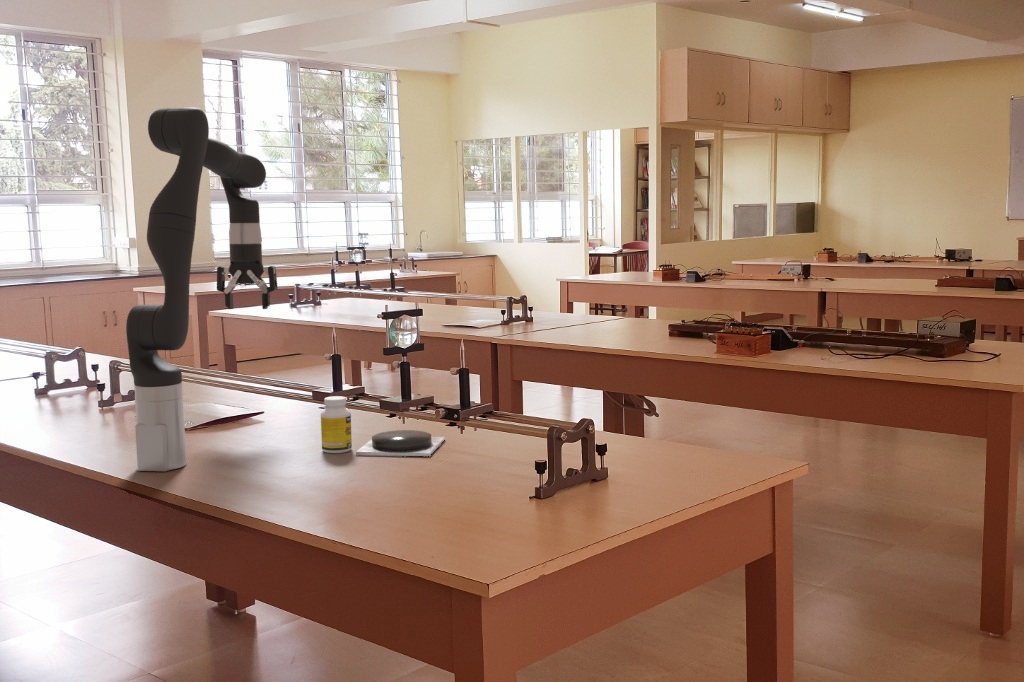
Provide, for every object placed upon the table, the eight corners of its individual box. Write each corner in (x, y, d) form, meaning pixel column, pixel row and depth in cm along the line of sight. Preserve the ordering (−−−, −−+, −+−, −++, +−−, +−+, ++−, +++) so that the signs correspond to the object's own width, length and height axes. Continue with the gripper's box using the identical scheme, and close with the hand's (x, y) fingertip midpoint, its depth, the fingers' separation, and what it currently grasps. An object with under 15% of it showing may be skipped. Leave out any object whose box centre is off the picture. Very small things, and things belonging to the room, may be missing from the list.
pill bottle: (345, 454, 213) (343, 401, 212) (317, 453, 214) (315, 400, 213) (356, 447, 219) (354, 395, 218) (328, 446, 221) (326, 395, 219)
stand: (429, 457, 210) (429, 445, 210) (356, 455, 212) (355, 443, 212) (445, 440, 226) (444, 429, 225) (376, 438, 228) (376, 428, 228)
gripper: (211, 242, 238) (213, 310, 240) (270, 242, 237) (272, 310, 239) (221, 242, 245) (224, 307, 247) (278, 241, 244) (281, 307, 246)
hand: (248, 308), depth 243 cm, fingers open, 8 cm apart
